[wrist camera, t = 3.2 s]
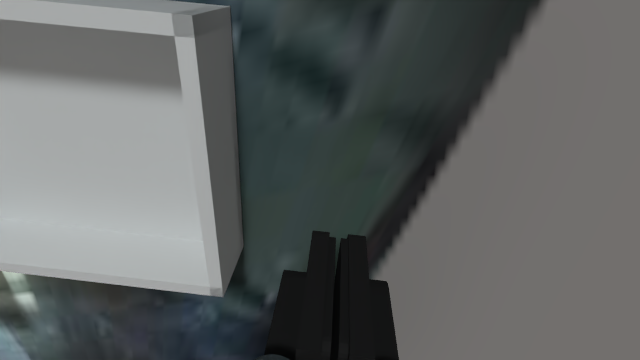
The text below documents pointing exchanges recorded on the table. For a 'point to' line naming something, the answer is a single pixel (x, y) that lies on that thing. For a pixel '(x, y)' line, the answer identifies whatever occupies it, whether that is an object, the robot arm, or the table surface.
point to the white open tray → (119, 143)
